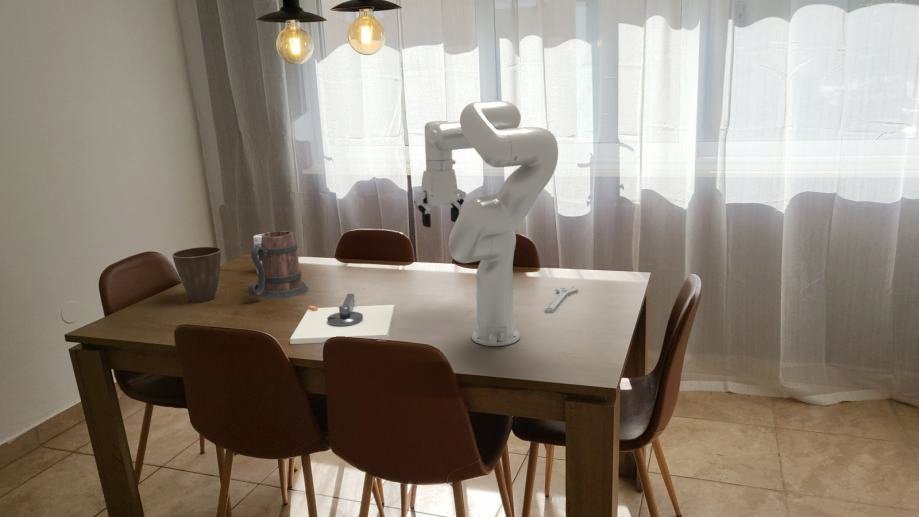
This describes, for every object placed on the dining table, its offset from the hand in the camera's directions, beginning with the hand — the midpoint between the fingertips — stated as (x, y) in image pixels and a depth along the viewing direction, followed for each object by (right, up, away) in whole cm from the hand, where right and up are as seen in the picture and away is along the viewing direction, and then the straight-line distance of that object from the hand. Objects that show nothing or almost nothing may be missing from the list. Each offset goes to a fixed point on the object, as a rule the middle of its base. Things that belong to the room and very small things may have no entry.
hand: (441, 224), depth 204 cm
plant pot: (-80, -23, +29) cm, 88 cm away
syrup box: (-66, -16, +58) cm, 89 cm away
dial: (-27, -26, +1) cm, 38 cm away
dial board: (-27, -29, -1) cm, 40 cm away
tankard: (-56, -22, +31) cm, 67 cm away
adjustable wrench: (+36, -23, +13) cm, 44 cm away
